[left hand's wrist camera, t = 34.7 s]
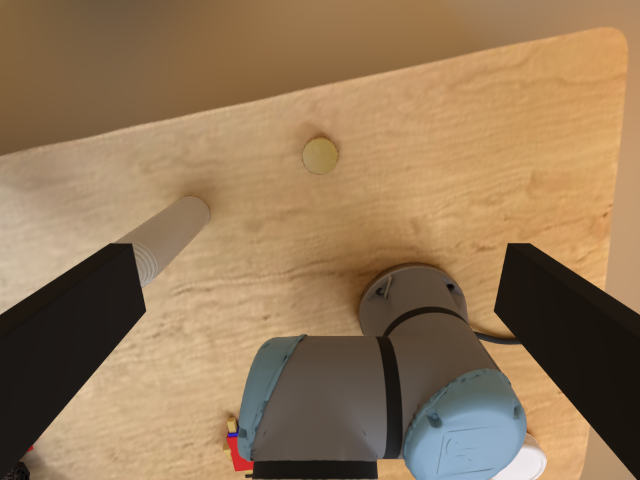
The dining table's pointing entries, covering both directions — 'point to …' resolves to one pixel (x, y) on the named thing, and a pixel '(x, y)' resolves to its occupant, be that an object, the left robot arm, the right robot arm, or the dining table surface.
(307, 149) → the cap
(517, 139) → the dining table surface
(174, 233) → the bottle
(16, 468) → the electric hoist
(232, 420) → the toy figure
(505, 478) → the white round container
